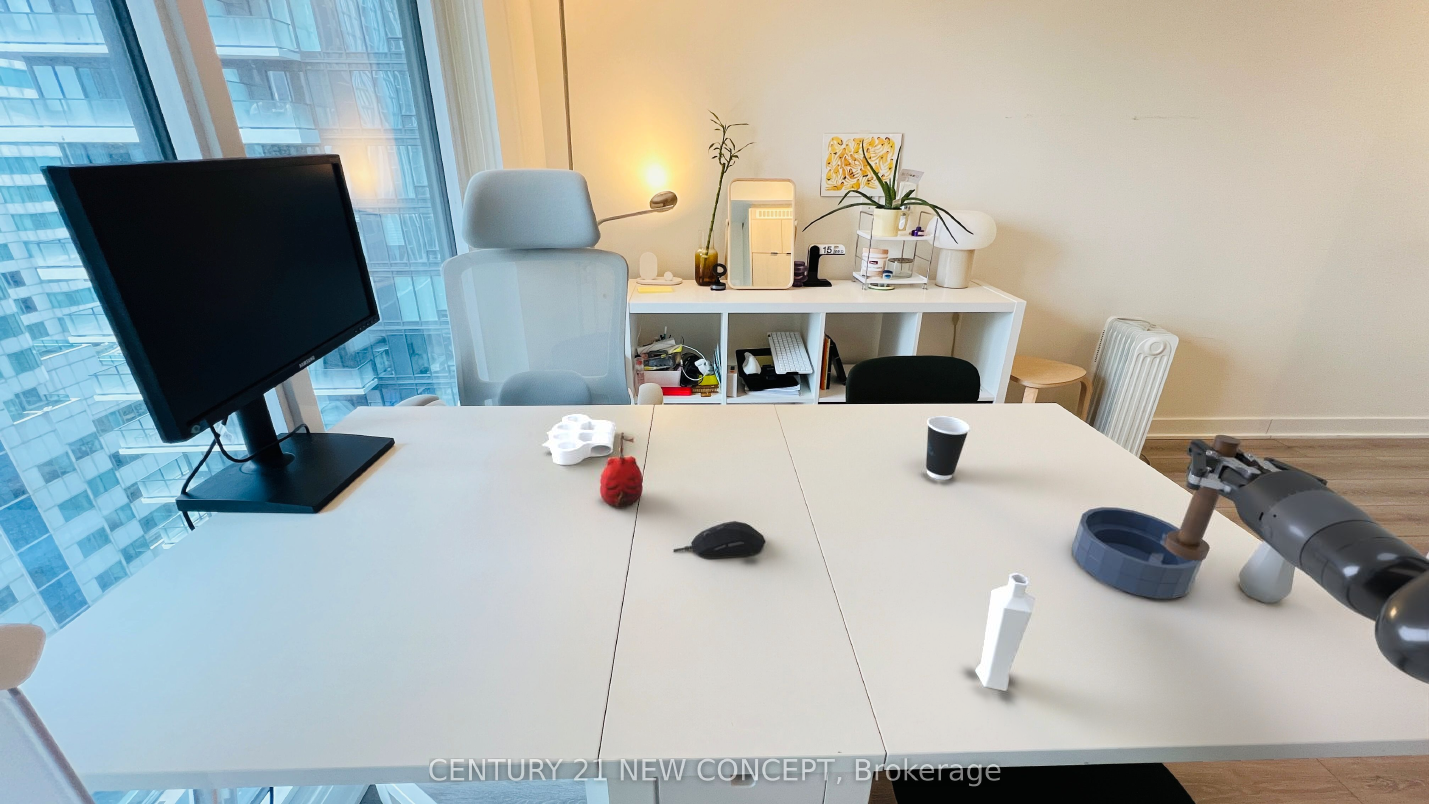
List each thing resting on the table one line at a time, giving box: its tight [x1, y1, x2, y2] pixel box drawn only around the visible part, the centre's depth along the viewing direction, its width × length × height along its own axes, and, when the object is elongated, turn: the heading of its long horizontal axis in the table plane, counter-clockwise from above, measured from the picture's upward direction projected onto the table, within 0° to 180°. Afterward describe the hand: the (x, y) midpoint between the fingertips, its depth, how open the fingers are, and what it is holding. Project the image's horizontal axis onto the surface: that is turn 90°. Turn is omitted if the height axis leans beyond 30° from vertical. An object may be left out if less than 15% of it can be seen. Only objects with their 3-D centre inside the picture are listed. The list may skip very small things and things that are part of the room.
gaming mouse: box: [672, 520, 766, 559], centre depth 95 cm, size 6×15×4 cm, turn 99°
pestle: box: [1164, 434, 1242, 561], centre depth 74 cm, size 4×4×16 cm
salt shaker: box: [1238, 540, 1296, 604], centre depth 85 cm, size 6×6×13 cm
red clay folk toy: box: [599, 432, 644, 509], centre depth 105 cm, size 8×7×15 cm
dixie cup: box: [925, 415, 971, 481], centre depth 117 cm, size 8×8×11 cm
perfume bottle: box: [975, 572, 1036, 692], centre depth 70 cm, size 5×4×15 cm
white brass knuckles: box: [542, 413, 617, 466], centre depth 128 cm, size 3×18×15 cm
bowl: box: [1071, 506, 1204, 600], centre depth 92 cm, size 16×16×6 cm
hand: (1206, 446), depth 74 cm, fingers closed on pestle, 2 cm apart
